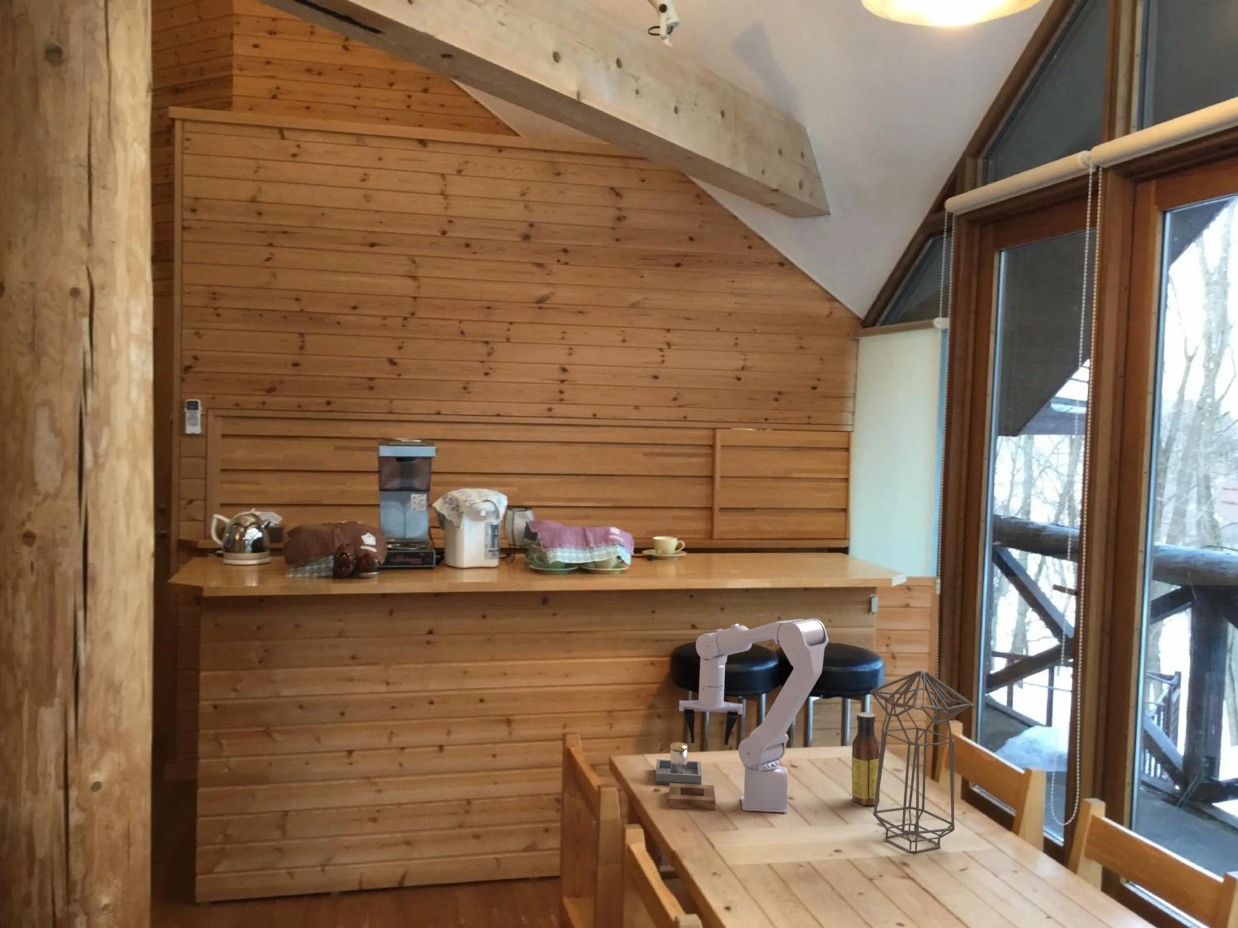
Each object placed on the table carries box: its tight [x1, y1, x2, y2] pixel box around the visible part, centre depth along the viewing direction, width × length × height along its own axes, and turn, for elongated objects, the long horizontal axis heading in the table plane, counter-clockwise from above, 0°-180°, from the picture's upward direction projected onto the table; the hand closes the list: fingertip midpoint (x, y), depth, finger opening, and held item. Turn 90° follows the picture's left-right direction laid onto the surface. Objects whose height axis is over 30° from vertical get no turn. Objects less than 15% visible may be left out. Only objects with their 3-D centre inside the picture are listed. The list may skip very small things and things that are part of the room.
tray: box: [655, 758, 703, 786], centre depth 240 cm, size 11×11×2 cm
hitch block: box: [668, 783, 717, 811], centre depth 225 cm, size 10×10×2 cm
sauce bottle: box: [851, 711, 881, 807], centre depth 228 cm, size 7×6×20 cm
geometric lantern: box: [869, 669, 974, 854], centre depth 205 cm, size 16×16×35 cm
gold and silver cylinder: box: [669, 742, 688, 774], centre depth 240 cm, size 4×4×7 cm
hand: (709, 742), depth 234 cm, fingers open, 7 cm apart
